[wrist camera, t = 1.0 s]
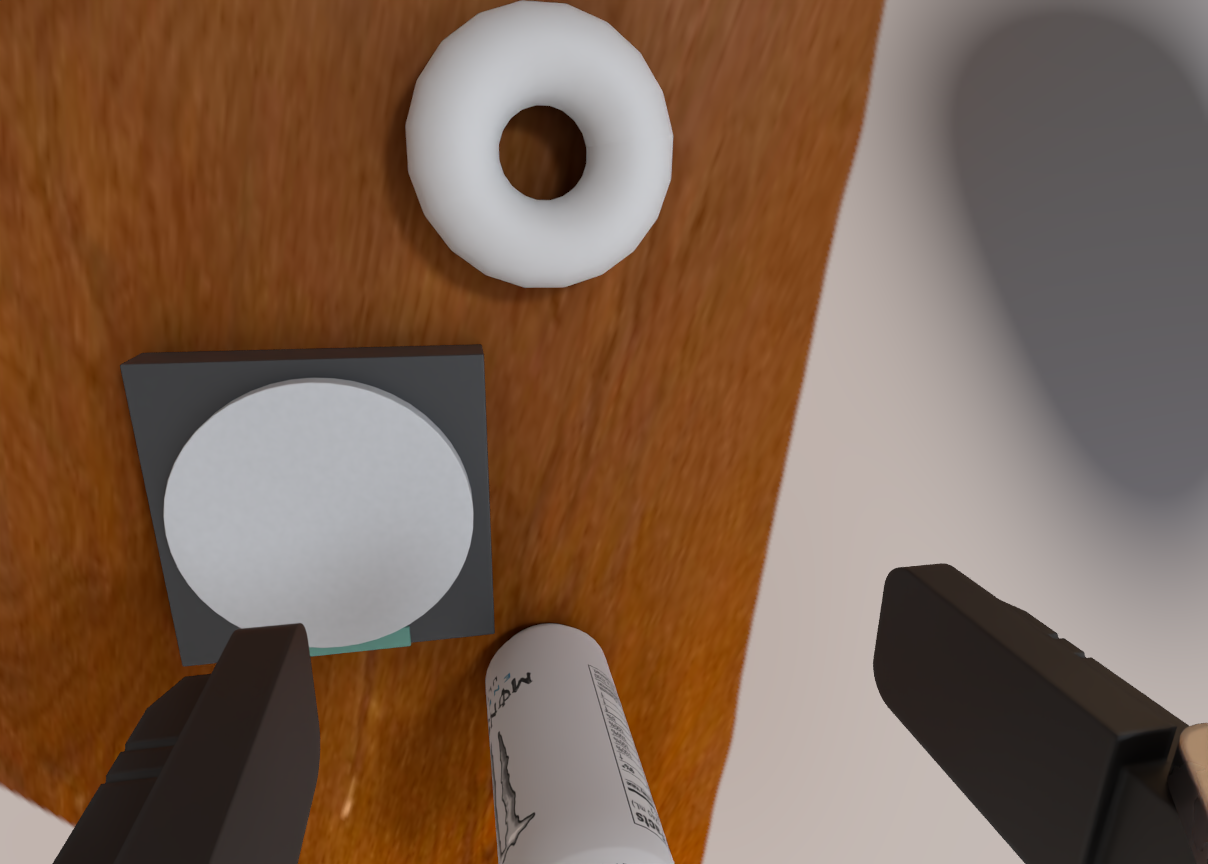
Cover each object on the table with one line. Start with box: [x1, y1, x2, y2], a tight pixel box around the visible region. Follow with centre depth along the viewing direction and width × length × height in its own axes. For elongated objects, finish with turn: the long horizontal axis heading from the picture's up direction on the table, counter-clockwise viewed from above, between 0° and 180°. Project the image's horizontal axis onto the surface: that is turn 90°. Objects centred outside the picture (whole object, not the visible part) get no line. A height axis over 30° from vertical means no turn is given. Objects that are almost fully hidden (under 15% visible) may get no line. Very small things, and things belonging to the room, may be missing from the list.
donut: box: [405, 0, 673, 288], centre depth 26 cm, size 10×3×10 cm
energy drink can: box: [485, 623, 674, 864], centre depth 29 cm, size 6×6×15 cm
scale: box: [120, 345, 495, 666], centre depth 29 cm, size 13×13×3 cm
